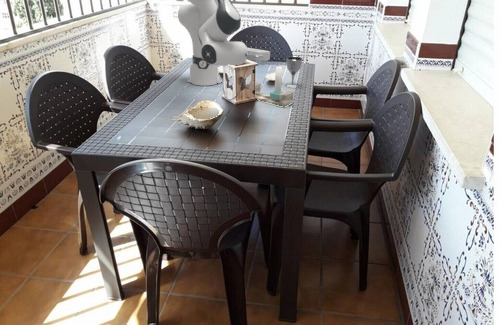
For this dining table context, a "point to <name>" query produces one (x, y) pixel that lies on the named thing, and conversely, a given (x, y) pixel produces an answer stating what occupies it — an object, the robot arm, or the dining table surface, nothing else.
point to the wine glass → (294, 65)
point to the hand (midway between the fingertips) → (258, 52)
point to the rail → (283, 99)
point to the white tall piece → (277, 84)
